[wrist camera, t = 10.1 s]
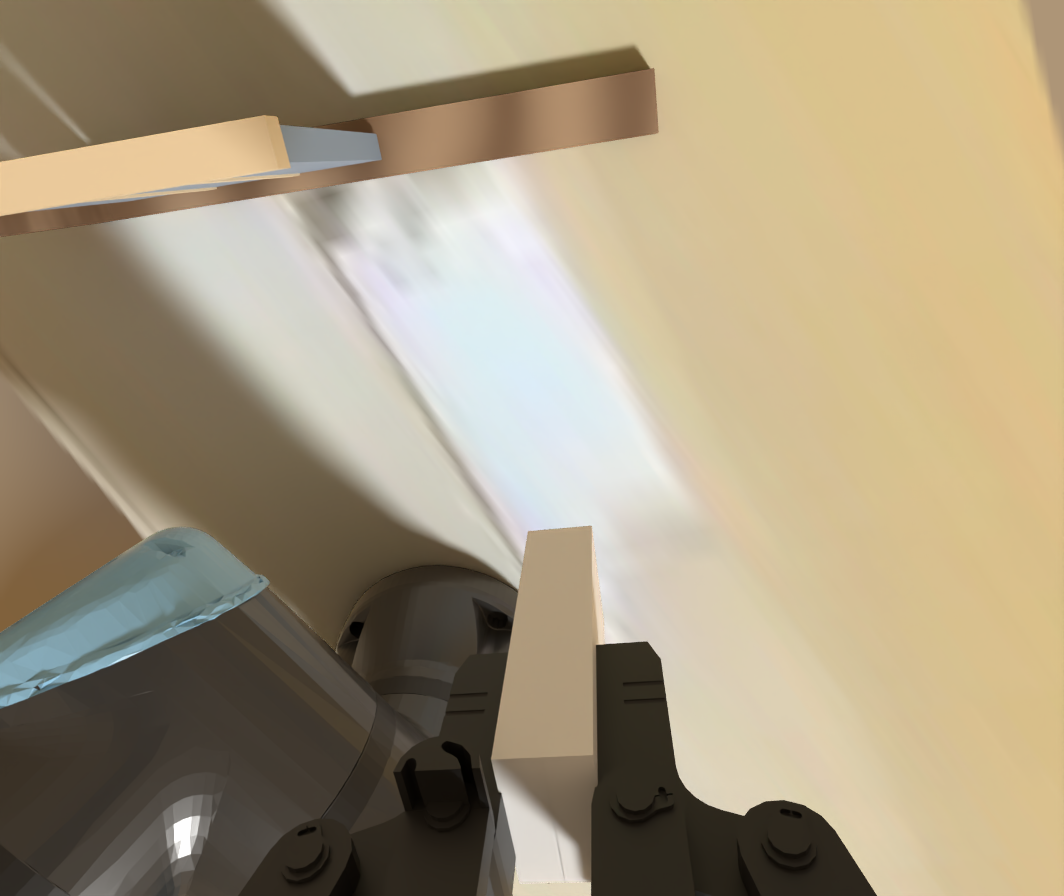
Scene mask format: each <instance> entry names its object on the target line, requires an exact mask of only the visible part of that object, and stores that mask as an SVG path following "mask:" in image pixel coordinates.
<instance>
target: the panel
mask: <svg viewBox="0 0 1064 896" xmlns="http://www.w3.org/2000/svg"><path fill="white" fill-rule="evenodd" d="M377 160H382V158H381V153H380V148H379V144H378V139H377V134H373V133H362V132H352V131H341V130H330V129H320V128H309V127H298V126H287V125H280V124H279V121H278V117H276V116H268V115H262V116H257V117H251V118H245V119H240V120H234V121H228V122H223V123H217V124H211V125H206V126H200V127H194V128H189V129H183V130H177V131H172V132H166V133H161V134H155V135H149V136H144V137H138V138H132V139H127V140H121V141H115V142H110V143H104V144H98V145H93V146H87V147H82V148H76V149H70V150H65V151H59V152H53V153H48V154H42V155H36V156H31V157H25V158H19V159H14V160H8V161H2V162H0V216H4V215H10V214H16V213H22V212H30V211H40V210H50V209H59V208H69V207H79V206H88V205H98V204H108V203H117V202H127V201H134V200H140V199H146V198H152V197H158V196H164V195H170V194H178V193H188V192H198V191H208V190H214V189H217V187H219V186H225V185H231V184H237V183H243V182H249V181H256V180H262V179H272V178H285V177H293V176H299V175H300V173H304V172H310V171H316V170H323V169H329V168H335V167H341V166H347V165H353V164H359V163H365V162H371V161H377Z"/></svg>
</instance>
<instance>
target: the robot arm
mask: <svg viewBox="0 0 1064 896" xmlns="http://www.w3.org/2000/svg"><path fill="white" fill-rule="evenodd" d="M269 583H270V582H269V580H268V579H267V578H266V577H265V576H263V575H259V574H255V573H254V572H252V571H251V570H250V569H249V568H248V567H247V566H245V565H244V564H243V563H242V562H241V561H240V560H238V559H237V558H236V557H235V556H234V555H233V554H232V553H230V552H229V551H228V550H227V549H226V548H225V547H223V546H222V545H221V544H220V543H219V542H218V541H216V540H215V539H214V538H213V537H211V536H210V535H208V534H207V533H205V532H203V531H201V530H198V529H194V528H189V527H174V528H168V529H164V530H162V531H159V532H157V533H155V534H153V535H151V536H149V537H148V538H146V539H144V540H143V541H141V542H140V543H138V544H136V545H135V546H133V547H132V548H130V549H128V550H127V551H125V552H124V553H122V554H121V555H119V556H118V557H116V558H114V559H113V560H111V561H110V562H108V563H107V564H105V565H104V566H102V567H101V568H99V569H98V570H96V571H94V572H93V573H91V574H90V575H88V576H87V577H85V578H84V579H82V580H81V581H79V582H77V583H76V584H74V585H73V586H71V587H70V588H68V589H66V590H65V591H63V592H62V593H60V594H59V595H57V596H56V597H54V598H52V599H51V600H49V601H48V602H46V603H45V604H43V605H42V606H40V607H39V608H37V609H36V610H34V611H33V612H31V613H29V614H28V615H27V616H25V617H23V618H22V619H20V620H19V621H17V622H16V623H14V624H13V625H11V626H10V627H8V628H6V629H5V630H4V631H2V632H1V633H0V896H513V895H512V890H513V880H514V871H515V867H516V871H517V875H518V880H519V884H521V883H569V882H591V896H877V895H876V893H875V892H874V890H873V889H872V887H871V886H870V884H869V883H868V881H867V879H866V878H865V876H864V875H863V873H862V872H861V870H860V869H859V867H858V865H857V864H856V862H855V861H854V859H853V858H852V856H851V855H850V853H849V852H848V850H847V848H846V847H845V845H844V844H843V842H842V841H841V839H840V838H839V836H838V834H837V833H836V831H835V830H834V829H833V828H832V827H831V826H830V825H829V824H828V822H827V821H826V820H825V819H824V818H823V817H822V816H821V815H819V814H818V813H816V812H814V811H812V810H811V809H809V808H807V807H806V806H804V805H801V804H797V803H793V802H789V801H785V800H780V801H766V802H763V803H761V804H759V805H757V806H755V807H753V808H751V809H750V810H749V811H748V812H747V813H746V815H745V816H742V815H738V814H734V813H731V812H727V811H723V810H720V809H717V808H715V807H712V806H709V805H707V804H705V803H704V802H702V801H700V800H699V799H697V798H696V797H694V796H693V795H692V794H691V793H690V792H689V791H688V790H687V789H686V788H685V786H684V784H683V783H682V781H681V780H680V778H679V775H678V772H677V769H676V764H675V757H674V750H673V743H672V736H671V729H670V722H669V715H668V707H667V701H666V693H665V686H664V679H663V672H662V665H661V659H660V658H659V656H658V655H657V654H656V652H655V651H654V650H653V648H652V647H651V646H650V644H649V643H648V642H633V643H617V644H605V641H604V618H603V610H602V603H601V595H600V587H599V579H598V571H597V564H596V556H595V548H594V540H593V532H592V526H583V527H572V528H561V529H549V530H538V531H528V535H527V541H526V547H525V554H524V560H523V566H522V572H521V578H520V584H519V591H518V593H517V592H516V591H515V590H513V589H512V588H510V587H509V586H507V585H505V584H504V583H502V582H500V581H498V580H496V579H494V578H492V577H490V576H487V575H485V574H482V573H479V572H476V571H472V570H469V569H464V568H459V567H451V566H424V567H417V568H411V569H408V570H404V571H401V572H398V573H395V574H393V575H390V576H388V577H386V578H384V579H382V580H381V581H379V582H378V583H376V584H375V585H373V586H372V587H371V588H370V589H368V590H367V591H366V592H365V593H364V594H363V595H362V596H361V598H360V599H359V600H358V601H357V603H356V604H355V606H354V607H353V609H352V611H351V613H350V615H349V617H348V619H347V621H346V623H345V625H344V627H343V629H342V631H341V633H340V636H339V639H338V643H337V647H336V652H335V651H334V650H333V649H332V648H331V647H330V646H329V645H328V644H327V643H326V642H325V641H323V640H322V639H321V638H320V637H319V636H318V635H317V634H316V633H315V632H314V631H313V630H312V629H311V628H310V627H309V626H308V625H307V624H306V623H305V622H304V621H302V620H301V619H300V618H299V617H298V616H297V615H296V614H295V613H294V612H293V611H292V610H291V609H290V608H289V607H288V606H287V605H286V604H285V603H284V602H283V601H282V600H280V599H279V598H278V597H277V596H276V595H275V594H274V593H273V592H272V591H271V590H270V589H269V588H268V587H267V586H268V585H269Z"/></svg>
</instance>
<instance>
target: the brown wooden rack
mask: <svg viewBox="0 0 1064 896" xmlns="http://www.w3.org/2000/svg"><path fill="white" fill-rule="evenodd" d="M311 128H320V129H330V130H341V131H352V132H362V133H373V134H377V139H378V144H379V148H380V153H381V158H382V160H377V161H371V162H365V163H359V164H353V165H347V166H341V167H335V168H329V169H323V170H316V171H310V172H304V173H300V175H299V176H293V177H285V178H272V179H262V180H256V181H249V182H243V183H237V184H231V185H225V186H219V187H217V189H214V190H208V191H198V192H188V193H178V194H170V195H164V196H158V197H152V198H146V199H140V200H134V201H127V202H117V203H108V204H98V205H88V206H79V207H69V208H59V209H50V210H40V211H30V212H22V213H16V214H10V215H4V216H0V237H4V236H11V235H18V234H25V233H32V232H39V231H46V230H54V229H61V228H68V227H75V226H82V225H89V224H96V223H103V222H109V221H115V220H121V219H128V218H134V217H140V216H146V215H153V214H159V213H165V212H171V211H177V210H184V209H190V208H196V207H202V206H209V205H215V204H221V203H227V202H233V201H240V200H246V199H252V198H258V197H265V196H271V195H277V194H283V193H289V192H296V191H302V190H308V189H314V188H321V187H327V186H333V185H339V184H345V183H352V182H358V181H364V180H370V179H377V178H383V177H389V176H395V175H401V174H408V173H414V172H420V171H426V170H433V169H439V168H445V167H451V166H457V165H464V164H470V163H476V162H482V161H489V160H495V159H501V158H507V157H513V156H520V155H526V154H532V153H538V152H545V151H551V150H557V149H563V148H569V147H576V146H582V145H588V144H594V143H601V142H607V141H613V140H619V139H625V138H632V137H638V136H644V135H650V134H656V133H658V118H657V103H656V88H655V73H654V68H652V69H647V70H641V71H635V72H629V73H624V74H618V75H612V76H606V77H600V78H595V79H589V80H583V81H577V82H572V83H566V84H560V85H554V86H548V87H543V88H537V89H531V90H525V91H520V92H514V93H508V94H502V95H496V96H491V97H485V98H479V99H473V100H468V101H462V102H456V103H450V104H444V105H439V106H433V107H427V108H421V109H415V110H410V111H404V112H398V113H392V114H387V115H381V116H375V117H369V118H363V119H358V120H352V121H346V122H340V123H335V124H329V125H323V126H317V127H311Z"/></svg>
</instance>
